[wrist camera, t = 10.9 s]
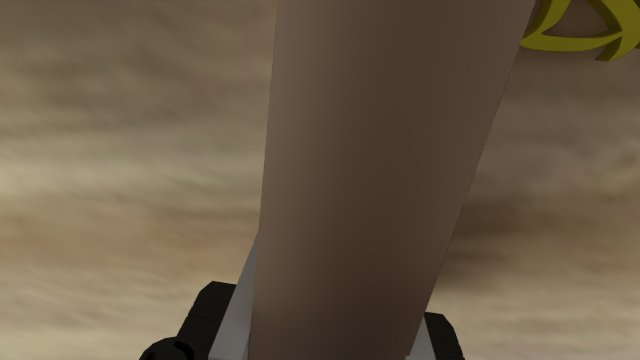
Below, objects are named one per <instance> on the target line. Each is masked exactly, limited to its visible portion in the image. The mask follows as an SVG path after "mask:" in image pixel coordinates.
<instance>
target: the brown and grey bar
mask: <svg viewBox="0 0 640 360" xmlns="http://www.w3.org/2000/svg"><path fill="white" fill-rule="evenodd" d="M535 1H536V0H278V7H277V19H276V31H275V43H274V55H273V67H272V79H271V91H270V102H269V114H268V126H267V138H266V150H265V162H264V174H263V186H262V198H261V210H260V222H259V234H258V246H257V258H256V270H255V282H254V294H253V305H252V317H251V329H250V341H249V353H248V360H405V358H406V356H410V353H411V350H412V347H413V344H414V341H415V339H416V336H417V333H418V330H419V327H420V325H421V322H422V319H423V316H424V313H425V311H426V308H427V305H428V302H429V299H430V296H431V294H432V291H433V288H434V285H435V282H436V280H437V277H438V274H439V271H440V268H441V266H442V263H443V260H444V257H445V254H446V251H447V249H448V246H449V243H450V240H451V237H452V235H453V232H454V229H455V226H456V223H457V221H458V218H459V215H460V212H461V209H462V206H463V204H464V201H465V198H466V195H467V192H468V190H469V187H470V184H471V181H472V178H473V176H474V173H475V170H476V167H477V164H478V161H479V159H480V156H481V153H482V150H483V147H484V145H485V142H486V139H487V136H488V133H489V131H490V128H491V125H492V122H493V119H494V116H495V114H496V111H497V108H498V105H499V102H500V100H501V97H502V94H503V91H504V88H505V86H506V83H507V80H508V77H509V74H510V72H511V69H512V66H513V63H514V60H515V57H516V55H517V52H518V49H519V46H520V43H521V41H522V38H523V35H524V32H525V29H526V27H527V24H528V21H529V18H530V15H531V12H532V10H533V7H534V4H535Z"/></svg>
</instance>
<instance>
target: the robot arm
mask: <svg viewBox="0 0 640 360" xmlns="http://www.w3.org/2000/svg"><path fill="white" fill-rule="evenodd" d="M258 234H259V231H258V233H257V236H256V238H255V241H254V243H253V246H252V248H251V251H250V253H249V256H248V258H247V261H246V263H245V266H244V268H243V271H242V273H241V276H240V278H239V281H238V283H237V285H236V284H229V283H223V282H216V281H212V282H210V283H209V284H208V285H207V286H206V287H204V288H203V289H202V290H201V291H200V292H199V294H198V296H197V298H196V300H195V302H194V304H193V307H192V308H191V310H190V311H189V313H188V316H187V317H186V319H185V321H184V323H183V325H182V327H181V329H180V330H179V332H178V334H177V336H176V337H170V338H164V339H162V340H160V341H158V342H156V343H154V344H152V345H151V346H150V347H149V348H148V349H146V350H145V351H144V352H143V354H142V355H141V357H140V359H139V360H248V353H249V341H250V329H251V317H252V305H253V294H254V282H255V270H256V258H257V246H258ZM405 360H465V358H464V357H463V353H462V350H461V347H460V345H459V342H458V339H457V336H456V333H455V331H454V328H453V327H452V325H451V324H450V323H449V322H448V320H447V319H446V318H445V317H444V315H443V314H437V313H431V312H425V313H424V316H423V319H422V322H421V325H420V327H419V330H418V333H417V336H416V339H415V341H414V344H413V347H412V350H411V353H410V356H406V358H405Z"/></svg>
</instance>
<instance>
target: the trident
mask: <svg viewBox="0 0 640 360" xmlns="http://www.w3.org/2000/svg"><path fill="white" fill-rule="evenodd" d="M587 1H588V2H589V3H590V4H591V5H592V6H593V7H594V8H595V9H596V10H597V12H598V13H599V14H600V15H601V17H602V18H603V20H604V21H605V23H606V25H607V27H608V29H609V31H607V32H604V33H602V34H598V35H595V36H589V37H559V36H549V35H544V34H542V32H543V31H545V30H547V29H549V28H550V27H552V26H553V25H555V24H556V23H557V22H558V21H559V20H560V18H561V17H562V16H563V14H564V13H565V11H566V9H567V7H568V6H569V4H570V2H571V0H542V3H541V6H540V8H539V11H538V13H537V15H536V17H535V19H534V21H533V23H532V24H531V26H530V27H529V28H528V29H527V30H526V31H525V32H524V35H523V38H522V41H521V43H520V46H519V47H520V48H525V49H532V50H541V51H558V52H574V51H585V50H591V49H595V48H598V47H600V46H603V45H605V44H607V43H608V44H607V46H606V48H605V50H604V51H603V52H602V53H601V54H600V56H599V57H598V58H596V59H595V60H600V61H611V60H613V59H616V58H618V57H620V56H622V55H624V54H626V53H628V52H629V51H631V50H632V49H633V48H639V49H640V9H639V8H640V0H587Z"/></svg>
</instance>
